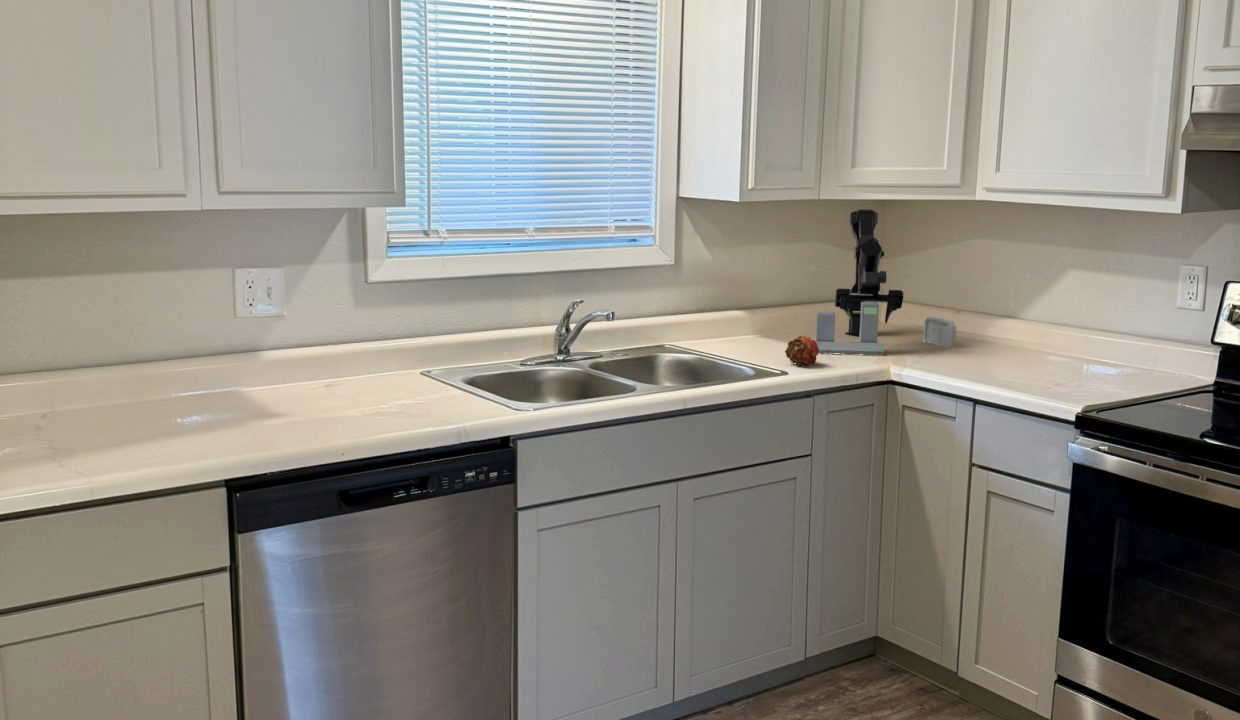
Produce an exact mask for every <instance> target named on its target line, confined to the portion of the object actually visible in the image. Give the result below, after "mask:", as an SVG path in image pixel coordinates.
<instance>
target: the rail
mask: <svg viewBox="0 0 1240 720" xmlns="http://www.w3.org/2000/svg"><path fill="white" fill-rule="evenodd" d="M815 321H816V323H815V342H816V343H817V345H818V349H819V352H818V353H842V354H843V353H844V354H863V355H862V356H871V355H883V356H884V342H877V343H864V342H859V341H857V342H856V341H835V332H836V331H835V330H836V328H835V327H836V313H835V311H834V312H832V311H829V312H828V311H826V312H825V311H824V312H823V311H817V312H816V320H815Z"/></svg>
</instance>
